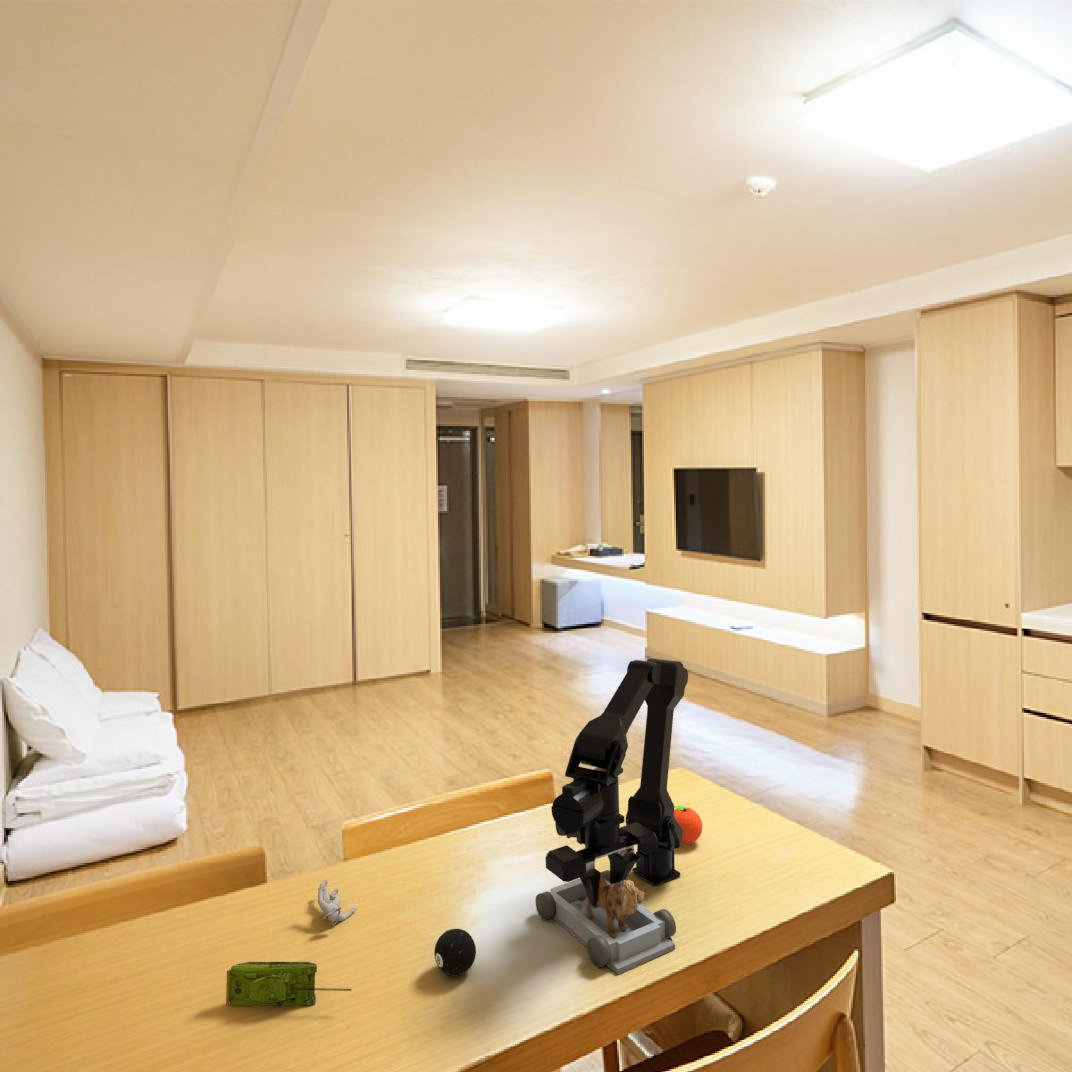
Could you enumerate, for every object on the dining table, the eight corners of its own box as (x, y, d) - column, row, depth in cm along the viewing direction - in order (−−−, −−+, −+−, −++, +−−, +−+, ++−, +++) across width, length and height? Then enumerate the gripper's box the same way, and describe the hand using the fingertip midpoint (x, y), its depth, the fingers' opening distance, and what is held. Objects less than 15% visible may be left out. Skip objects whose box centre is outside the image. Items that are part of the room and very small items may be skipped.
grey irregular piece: (351, 899, 134) (367, 909, 124) (334, 924, 132) (348, 937, 122) (318, 873, 133) (330, 881, 123) (299, 898, 131) (310, 909, 120)
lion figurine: (651, 935, 117) (648, 880, 116) (626, 950, 114) (623, 893, 113) (589, 897, 129) (587, 846, 128) (565, 909, 126) (562, 857, 125)
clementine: (656, 839, 152) (655, 805, 151) (680, 829, 156) (679, 796, 156) (686, 854, 145) (685, 818, 145) (710, 843, 150) (709, 808, 149)
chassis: (598, 884, 135) (598, 862, 135) (682, 945, 116) (682, 920, 116) (531, 909, 127) (530, 886, 127) (609, 978, 109) (608, 951, 108)
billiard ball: (484, 971, 111) (483, 932, 111) (450, 990, 107) (449, 949, 107) (460, 953, 116) (459, 916, 115) (427, 971, 112) (426, 932, 111)
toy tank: (240, 948, 110) (207, 977, 100) (367, 948, 109) (347, 977, 99) (237, 1000, 109) (204, 1035, 99) (366, 1001, 108) (346, 1036, 98)
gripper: (616, 778, 133) (619, 864, 134) (526, 805, 123) (529, 897, 124) (658, 799, 123) (660, 891, 124) (563, 830, 113) (567, 929, 114)
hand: (604, 901), depth 122 cm, fingers closed on lion figurine, 4 cm apart
